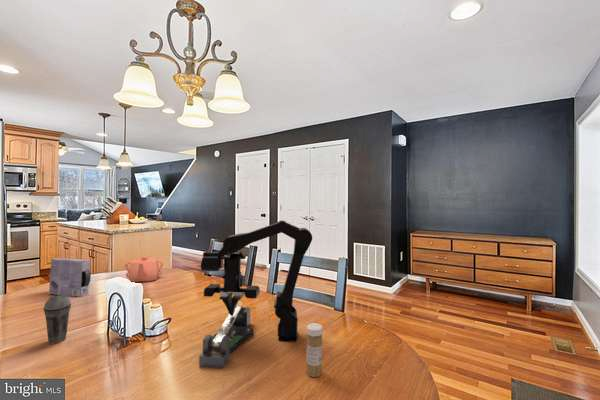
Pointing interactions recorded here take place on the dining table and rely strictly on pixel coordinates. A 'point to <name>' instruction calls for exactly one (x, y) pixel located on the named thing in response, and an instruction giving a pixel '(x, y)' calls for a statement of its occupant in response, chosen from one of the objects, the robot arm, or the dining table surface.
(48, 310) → the beverage cup
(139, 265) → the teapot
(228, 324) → the long grey bar
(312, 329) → the sprinkles bottle
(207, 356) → the bracket
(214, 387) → the dining table surface
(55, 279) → the cake pan box
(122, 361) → the dining table surface
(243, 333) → the disk drive
